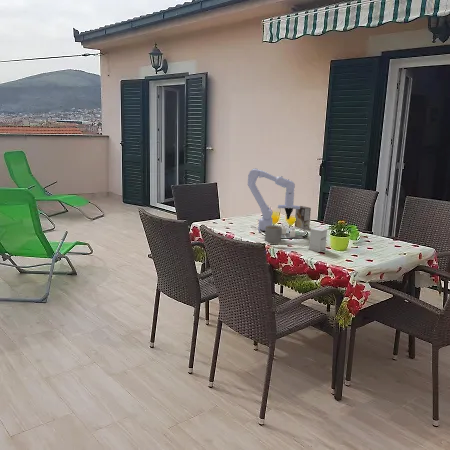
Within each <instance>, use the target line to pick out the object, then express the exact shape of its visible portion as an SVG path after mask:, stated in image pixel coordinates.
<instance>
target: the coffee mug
mask: <svg viewBox="0 0 450 450" xmlns="http://www.w3.org/2000/svg"><path fill="white" fill-rule="evenodd" d="M264 234H265V235H264V241H265V242H267V243H269V244H270V245H271V246H279V245H278V243H281V242H282V238H281V235H282V227H280V225H273V224H272V225H270V226H266V229H265V232H264ZM270 245H269V246H270Z"/></svg>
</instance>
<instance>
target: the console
mask: <svg viewBox="0 0 450 450" xmlns="http://www.w3.org/2000/svg"><path fill="white" fill-rule="evenodd" d="M295 231H296V230H295ZM281 239H298V240H299V239H300V240H301V239H302V240H304V237H303V235H302V234H301V232H300V231H296V232H295V237H290V233H286V234H282V235H281Z"/></svg>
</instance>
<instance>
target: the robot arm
mask: <svg viewBox="0 0 450 450" xmlns="http://www.w3.org/2000/svg"><path fill="white" fill-rule="evenodd" d="M258 178H259V179H261V178H265V179H267V180H270V181H272V182H274V184H275V185H277V186H279V187H281V188H284V189H285V188H286V189H285V190H286V191H285V193H284V194H285V196H284V197H285V198H284V199H285V200H284V204H278V205H277V209H284V211H285V214H286V220H290V218H291V215H292V213H293V210H296V209H300V206H301V205H294V201H295V187H296V184H295V182H294V181H293V180H290V179H288V178H284V176H282V175H281V176H280V175H278V176H275V175H273V174H271V173H269V172H268V171H265V170H263V169H262V170H261V169H258V168H253V169H251V170H250V171H249V172H248V176H247V186H248V188H249V191H250V192H251V194H252V196H253V197H254V199H255V201H256V203H257V204H258V206H259V208H260V211H261V214H262V216H261V218H258V226H257V231H258V233H260V234H261V231H265V229H266V226H270V225H273V217H272V216H273V210H272V208H271V207H269V205H268V204H267V203H266V201H265V199H264V197H263V195H262V193H261V192H260V190H259V188H258V186H257V183H256V182H257V179H258Z"/></svg>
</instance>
